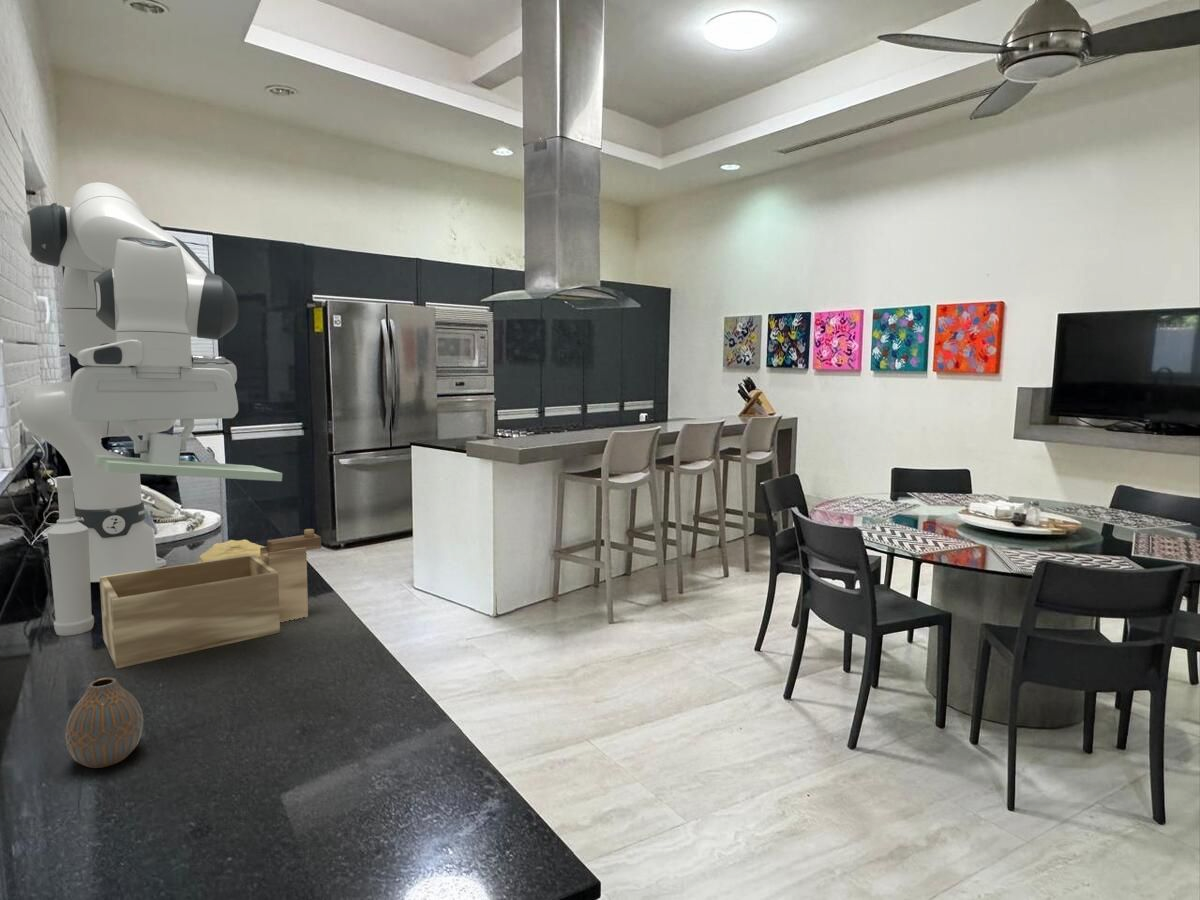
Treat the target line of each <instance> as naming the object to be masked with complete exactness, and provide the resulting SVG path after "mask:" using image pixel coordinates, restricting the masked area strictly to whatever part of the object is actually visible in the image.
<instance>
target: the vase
mask: <svg viewBox="0 0 1200 900" xmlns="http://www.w3.org/2000/svg"><path fill="white" fill-rule="evenodd" d="M65 726H66V727H65V735H64V737H65V743H66V744H65V745H66V747H67V751H68V753H69V755H70V756H71V757H72V758H73V760H74V761H75V762H77V763H78V764H80V765H82V766H84V767H87V768H91V769H100V768H101V769H102V768H106V767H111V766H113V765H115V764H118V763H120V762H121V761H124V760H125V759H126V758H127V757H128V756H129V755H130V754H131V753H132V752H134V750H135V748H136V747H137V746H138V744H139V742H140V741H141V737H142V734H143V730H144V714H143V709H142V708H141V705H140V703H139V701H138V700H137V698H136V697H135V696H134V695H133V694H132V693H130V692H129V691H128V690H127V689H125V688H124V687H123V686H122V685H121V684H120V683H119V681H118V680H117V678H115V677H102V678H98V679H95V680H93V681H91V682H90V683H89V685H88V686H87V689H86V691H85V693H84V694H83V696H82V697H81V698H80V699H79V700H78V701H77V703H76V704H75V706H74V707H73V709H72V710H71V712H70V714H69V716H68V719H67V723H66V725H65Z"/></svg>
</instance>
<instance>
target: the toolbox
mask: <svg viewBox="0 0 1200 900" xmlns="http://www.w3.org/2000/svg"><path fill="white" fill-rule="evenodd" d="M307 559H308V557H307V550H306V548H305V547H303V548H296V549H289V550H282V551H276V552H269V553H268V552H267V546H264V547H260V559H258V558H257V557H256V556H254V555H253V554H252V555H245V556H238V557H231V558H224V559H218V560H211V561H204V562H199V561H196V562H192V563H185V564H178V565H171V566H162V567H159V568H156V569H149V570H143V571H136V572H129V573H122V574H115V575H109V576H102V577H100V582H99V590H100V609H101V625H102V626H101V627H102V639H103V641H104V645H105V646H106V648H107V651H108V653H109V655H110V658H111V660H112V662H113V664H114V666H115V668H116V670H117V669H121V668H127V667H130V666H135V665H140V664H145V663H149V662H153V661H157V660H162V659H167V658H171V657H175V656H179V655H180V656H181V655H184V654H189V653H194V652H198V651H203V650H208V649H211V648H216V647H221V646H225V645H229V644H235V643H240V642H244V641H248V640H252V639H257V638H262V637H266V636H271V635H277V634H279V633H281V623H285V621H286V622H290V621H289V620H291V621H294V619H295V620H298V619H299V618H300V619H304V618H303V617H305V618H308V617H309V607H308V606H309V602H308V600H309V599H308V598H309V597H308V569H307V568H308V560H307ZM300 619H299V620H300ZM280 622H281V623H280Z"/></svg>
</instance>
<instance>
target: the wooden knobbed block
mask: <svg viewBox="0 0 1200 900" xmlns="http://www.w3.org/2000/svg"><path fill="white" fill-rule="evenodd" d="M303 533H304V534H303V535H296V536H290V537H282V538H275V539H268V540H266V547H267V552H268V553H269V552H276V551H282V550H289V549H296V548H303V547H305V548H306V551H313V550H320V549H322V536H320V535H318V534H316V533H315V529H314V528H306V529H304V530H303Z"/></svg>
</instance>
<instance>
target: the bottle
mask: <svg viewBox="0 0 1200 900" xmlns="http://www.w3.org/2000/svg"><path fill="white" fill-rule="evenodd" d="M56 488H57V489H56V490H57V501H58V519H57V520H56V524H54V526H53V527H51V528H50V529H49V530H48V531H47V532H46V533H47V542H48V552H49V554H48V555H49V563H50V574H51V584H52V585H51V586H52V595H53V607H54V616H55V621H53V628H54V632H55V634H56V635H57V636H61V637H68V636H76V635H80V634H84V633H88V632H89V631H91V630H92V629H93V628H94V623H95V616H94V615H93V614H92V593H91V592H92V591H91V589H92V588H91V587H92V586H91V582H90V559H89V532H88V527H86V526H85V525H83V524H81V523H80V522H78V519H77V518H75V509H74V507H75V499H74V489H73V476H71V475H63V476H57V477H56Z"/></svg>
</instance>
